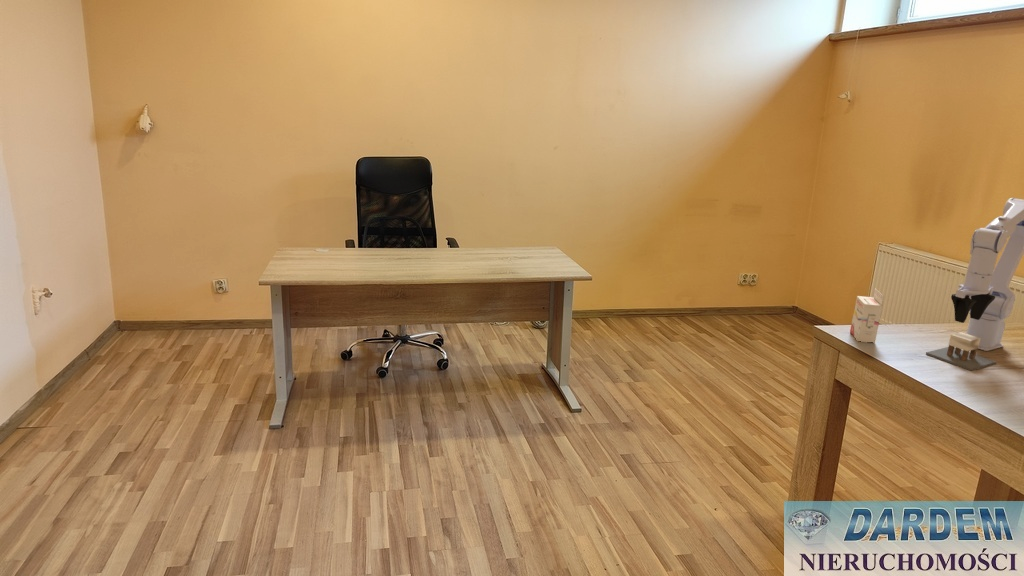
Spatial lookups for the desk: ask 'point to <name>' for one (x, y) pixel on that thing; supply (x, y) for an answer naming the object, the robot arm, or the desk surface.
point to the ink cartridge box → (867, 317)
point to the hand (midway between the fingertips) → (967, 320)
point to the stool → (963, 345)
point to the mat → (956, 359)
